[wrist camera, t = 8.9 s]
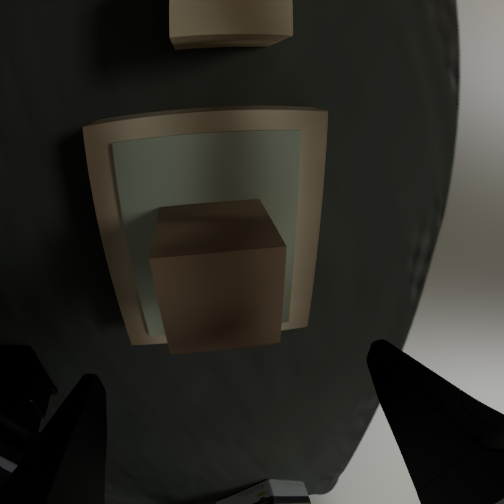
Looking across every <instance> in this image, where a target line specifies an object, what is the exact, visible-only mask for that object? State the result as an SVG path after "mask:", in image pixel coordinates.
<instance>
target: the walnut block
mask: <svg viewBox="0 0 504 504" xmlns="http://www.w3.org/2000/svg"><path fill="white" fill-rule="evenodd" d="M286 251H287V246H286V244H285V242H284V241H283V239H282V237H281V235H280V234H279V232H278V230H277V228H276V226H275V225H274V223H273V221H272V219H271V218H270V216H269V214H268V212H267V211H266V209H265V207H264V206H263V204H262V202H261V200H260V199H250V200H236V201H222V202H209V203H197V204H186V205H175V206H165V207H160V208H159V212H158V217H157V222H156V227H155V231H154V236H153V242H152V247H151V252H150V258H149V260H150V266H151V271H152V276H153V281H154V286H155V291H156V295H157V300H158V305H159V309H160V314H161V318H162V322H163V327H164V331H165V335H166V339H167V343H168V347H169V351H170V355H172V354H185V353H196V352H207V351H216V350H226V349H234V348H242V347H250V346H258V345H265V344H272V343H279V342H280V337H281V324H282V311H283V297H284V283H285V267H286Z"/></svg>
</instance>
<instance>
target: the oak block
mask: <svg viewBox="0 0 504 504" xmlns="http://www.w3.org/2000/svg"><path fill="white" fill-rule="evenodd" d="M291 36H293V7H292V0H169V38H170V40H171V42H172V44H173V46H174V49H175V50H181V49H194V48H212V47H268V46H270V45H272V44H275V43H277V42H279V41H282V40H284V39H286V38H289V37H291Z"/></svg>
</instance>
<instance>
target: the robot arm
mask: <svg viewBox="0 0 504 504" xmlns="http://www.w3.org/2000/svg"><path fill="white" fill-rule="evenodd" d="M367 365H368V368H369V371H370V374H371V377H372V380H373V384H374V387H375V390H376V393H377V396H378V399H379V402H380V404H381V406H382V409H383V411H384V413H385V416H386V418H387V420H388V423H389V425H390V427H391V430H392V432H393V435H394V437H395V439H396V442H397V444H398V446H399V449H400V451H401V454H402V456H403V458H404V461H405V464H406V466H407V469H408V471H409V474H410V476H411V479H412V481H413V484H414V486H415V489H416V491H417V495H418V497H419V500H420V502H421V504H504V414H502V413H500V412H498V411H496V410H494V409H492V408H490V407H488V406H487V405H485V404H483V403H481V402H479V401H477V400H476V399H474V398H473V397H471V396H470V395H468V394H467V393H465V392H463V391H462V390H460V389H459V388H457V387H456V386H454V385H453V384H451V383H450V382H448V381H446V380H445V379H444V378H442V377H441V376H439V375H437V374H436V373H435V372H433V371H431V370H430V369H429V368H427V367H425V366H424V365H422V364H421V363H419V362H418V361H416V360H415V359H413V358H412V357H410V356H409V355H407V354H406V353H404V352H403V351H401V350H400V349H398V348H397V347H395V346H394V345H392V344H391V343H389V342H388V341H386V340H384V339H381V340H377V341H373V342H372V344H371V347H370V350H369V352H368V355H367ZM56 394H57V388H56V387H55V385H54V384H53V382H52V381H51V379H50V377H49V376H48V374H47V373H46V371H45V369H44V368H43V366H42V364H41V363H40V361H39V359H38V358H37V356H36V354H35V353H34V351H33V350H32V349H31V348H30V347H17V346H0V504H104V498H105V464H106V446H107V417H106V391H105V388H104V386H103V384H102V383H101V381H100V379H99V377H98V375H96V374H85V375H83V377H82V378H81V379H80V380H79V382H78V383H77V384H76V386H75V387H74V388H73V390H72V391H71V392H70V394H69V395H68V396H67V398H66V399H65V400H64V402H63V403H62V404H61V406H60V407H59V408H58V410H57V411H56V413H55V414H54V415H53V417H52V418H51V419H50V421H49V422H48V424H47V425H46V426H45V428H44V429H43V430H42V432H41V433H39V432H38V430H39V426H40V421H41V418H44V417H45V415H46V411H47V407H48V402H49V398H50V395H56Z"/></svg>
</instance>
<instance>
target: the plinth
mask: <svg viewBox="0 0 504 504" xmlns="http://www.w3.org/2000/svg"><path fill="white" fill-rule="evenodd" d="M327 122H328V111H324V110H320V109H316V108H312V107H308V106H222V107H203V108H189V109H177V110H167V111H157V112H148V113H140V114H133V115H126V116H119V117H113V118H106V119H101V120H97V121H95V122H93V123H90V124H88V125H86V126H84V127H83V136H84V144H85V152H86V159H87V166H88V172H89V178H90V184H91V190H92V196H93V201H94V206H95V211H96V216H97V221H98V226H99V230H100V235H101V239H102V243H103V248H104V252H105V256H106V260H107V264H108V268H109V272H110V275H111V279H112V283H113V286H114V290H115V293H116V297H117V300H118V303H119V307H120V310H121V313H122V316H123V320H124V323H125V326H126V329H127V332H128V335H129V338H130V341H131V344H132V345H145V344H160V343H167V339H166V335H165V331H164V327H163V322H162V318H161V314H160V309H159V305H158V300H157V295H156V291H155V286H154V281H153V276H152V271H151V266H150V260H149V258H150V252H151V247H152V242H153V236H154V231H155V227H156V222H157V217H158V212H159V208H160V207H165V206H175V205H186V204H197V203H209V202H222V201H236V200H250V199H260V200H261V202H262V204H263V206H264V207H265V209H266V211H267V212H268V214H269V216H270V218H271V219H272V221H273V223H274V225H275V226H276V228H277V230H278V232H279V234H280V235H281V237H282V239H283V241H284V242H285V244H286V246H287V251H286V267H285V283H284V297H283V311H282V324H281V330H288V329H294V328H301V327H307V325H308V318H309V311H310V304H311V297H312V289H313V281H314V273H315V265H316V256H317V247H318V238H319V228H320V218H321V207H322V196H323V184H324V171H325V157H326V141H327Z"/></svg>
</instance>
